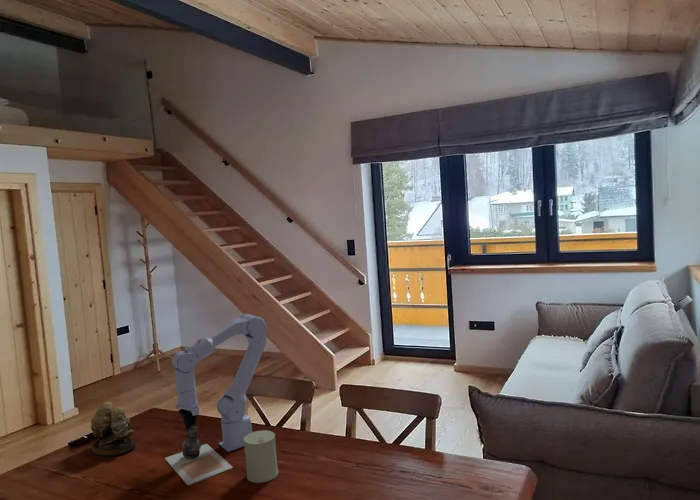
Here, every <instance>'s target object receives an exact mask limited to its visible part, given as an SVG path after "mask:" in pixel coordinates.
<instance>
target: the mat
mask: <svg viewBox="0 0 700 500" xmlns="http://www.w3.org/2000/svg"><path fill="white" fill-rule="evenodd" d="M199 450H200V454H199V456H198V457H197V458H195V459H186V458H185V457H184V456H183V451H181V452H178V453H174V454H173V455H169V456H167V457H165V458H164V460H165V461H166V462H167V463H168V464H169V465H170V466H171V468H172V469H173V470H174V471H175V472H176V473H177V475H178V476H179V478H180V479H182V480H183V482H184V483H185V484H186V485H187V486H191V485H192V484H195V483H198V482H201V481H203V480H205V479H208V478H212V477H213V476H214V477H215V476H217V475H219V474H222V473H225V472H227V471H230V470H232V469H233V468H234V467H233V466H232V465H231V464H230V463H229V462H228V461H227V460H226V459H224V458H223V457H222V456H221V455H220V454H219V453H217V451H215V449H213V448H212V447H211V446H210V445H209V444H208V443H205V444H201V448H200V449H199Z"/></svg>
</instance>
